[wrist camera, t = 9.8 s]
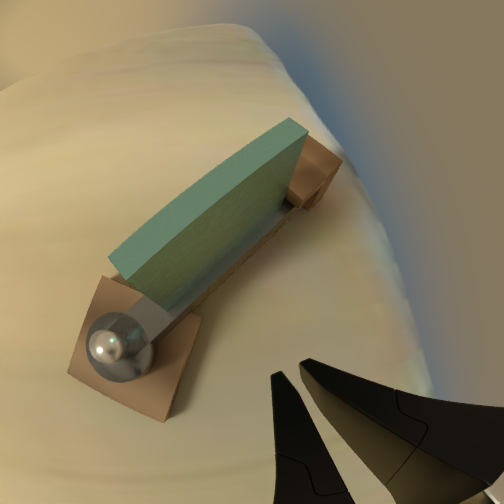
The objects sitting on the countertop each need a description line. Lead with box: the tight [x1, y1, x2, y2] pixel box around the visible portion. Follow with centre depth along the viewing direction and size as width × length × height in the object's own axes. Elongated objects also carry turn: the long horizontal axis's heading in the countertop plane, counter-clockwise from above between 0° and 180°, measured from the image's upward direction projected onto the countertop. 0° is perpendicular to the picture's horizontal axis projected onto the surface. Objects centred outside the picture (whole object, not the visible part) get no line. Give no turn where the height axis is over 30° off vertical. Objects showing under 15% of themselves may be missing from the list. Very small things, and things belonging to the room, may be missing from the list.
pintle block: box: [67, 275, 203, 423], centre depth 18 cm, size 8×8×1 cm
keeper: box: [285, 135, 343, 211], centre depth 21 cm, size 5×4×5 cm
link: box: [86, 118, 309, 383], centre depth 15 cm, size 19×4×10 cm, turn 136°
